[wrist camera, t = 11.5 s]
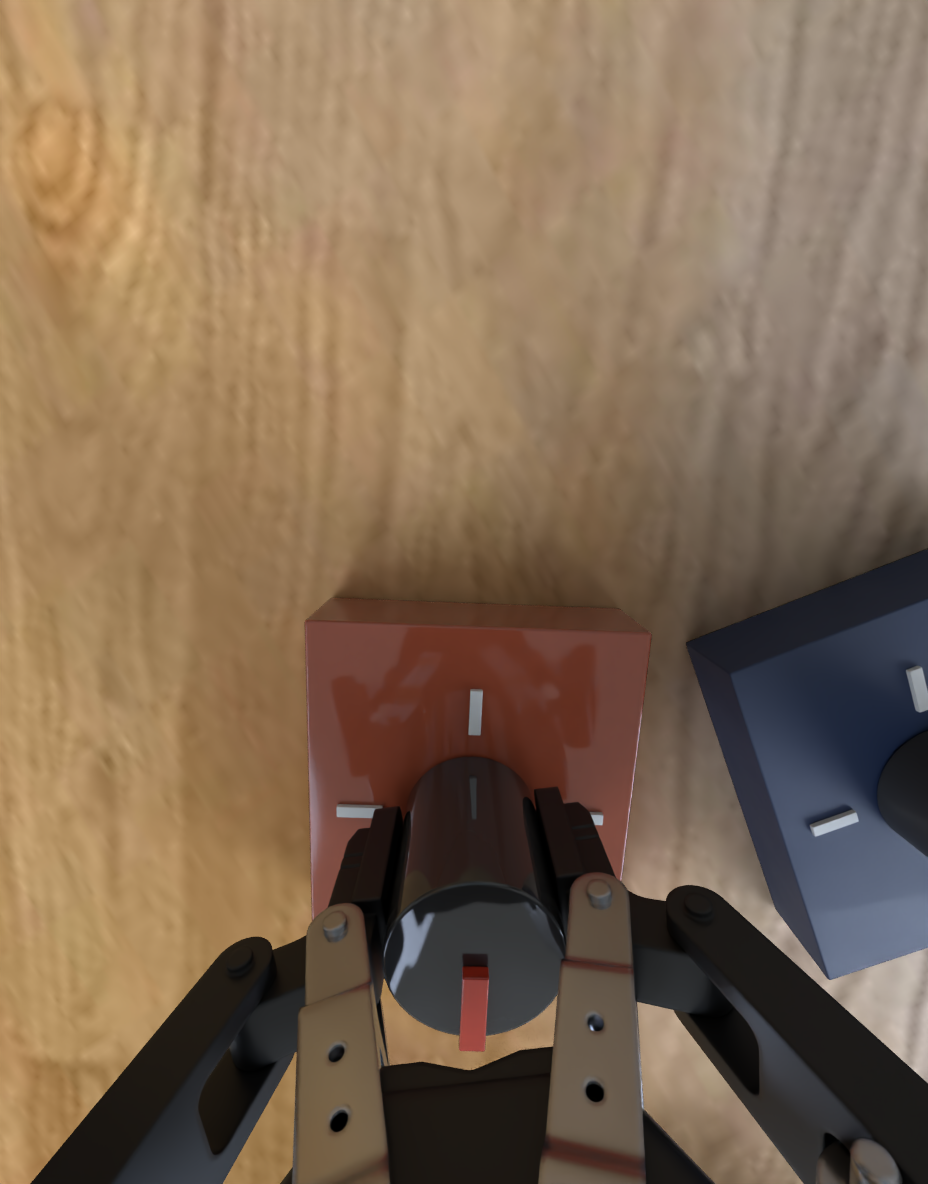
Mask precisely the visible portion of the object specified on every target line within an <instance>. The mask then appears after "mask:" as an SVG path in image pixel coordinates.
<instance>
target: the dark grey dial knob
mask: <svg viewBox="0 0 928 1184" xmlns="http://www.w3.org/2000/svg"><path fill="white" fill-rule="evenodd" d="M565 952H566V935H565V931H564V927H563V922H562V918H561V914H560V910H559V906H558V901H557V897H556V893H555V889H554V884H553V880H552V876H551V872H550V868H549V863H548V859H547V855H546V851H545V846H544V842H543V838H542V834H541V830H540V825H539V821H538V817H537V813H536V808H535V804H534V801H533V797H532V794H531V792H530V790H529V788H528V787H527V785H526V784H525V782H524V781H523V780H522V779H521V777H520V776H519V775H518V774H517V773H515V772H514V771H513V770H512V769H510V768H509V767H507V766H506V765H504V764H502V763H500V762H497V761H495V760H492V759H488V758H483V757H475V756H468V757H459V758H454V759H450V760H447V761H444V762H442V763H440V764H438V765H436V766H434V767H433V768H431V769H430V770H429V771H427V772H426V773H425V774H424V775H423V776H422V777H421V778H420V779H419V780H418V781H417V783H416V784H415V785H414V787H413V789H412V790H411V792H410V795H409V797H408V800H407V804H406V809H405V815H404V821H403V827H402V833H401V840H400V846H399V852H398V858H397V864H396V870H395V876H394V882H393V888H392V894H391V900H390V906H389V913H388V919H387V925H386V931H385V937H384V943H383V950H382V967H383V972H384V976H385V980H386V983H387V985H388V988H389V990H390V992H391V993H392V995H393V997H394V999H395V1000H396V1001H397V1002H398V1004H399V1005H400V1006H401V1007H402V1008H403V1009H404V1010H405V1011H406V1012H407V1013H408V1014H409V1015H411V1016H412V1017H413V1018H415V1019H416V1020H417V1021H419V1022H421V1023H423V1024H424V1025H426V1026H428V1027H431V1028H433V1029H435V1030H438V1031H441V1032H445V1033H448V1034H453V1035H459V1050H460V1051H482V1052H483V1051H485V1041H486V1036H488V1035H495V1034H499V1033H503V1032H507V1031H510V1030H513V1029H515V1028H518V1027H520V1026H522V1025H524V1024H526V1023H528V1022H529V1021H531V1020H532V1019H534V1018H535V1017H537V1016H538V1015H539V1014H540V1013H542V1012H543V1011H544V1010H545V1009H546V1008H547V1007H548V1006H549V1005H550V1004H551V1003H552V1001H553V1000H554V999H555V997H556V996H557V994H558V984H559V972H560V963H561V959H562V958H564V959H565Z"/></svg>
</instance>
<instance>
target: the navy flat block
mask: <svg viewBox="0 0 928 1184" xmlns="http://www.w3.org/2000/svg"><path fill="white" fill-rule="evenodd" d="M686 646H687V649H688V652H689V655H690V658H691V661H692V664H693V667H694V670H695V673H696V675H697V678H698V681H699V684H700V687H701V690H702V693H703V696H704V699H705V702H706V705H707V708H708V711H709V714H710V717H711V720H712V723H713V726H714V729H715V732H716V735H717V737H718V740H719V743H720V746H721V749H722V752H723V755H724V758H725V761H726V764H727V767H728V770H729V773H730V776H731V779H732V782H733V785H734V788H735V791H736V794H737V797H738V799H739V802H740V805H741V808H742V811H743V814H744V817H745V820H746V823H747V826H748V829H749V832H750V835H751V838H752V841H753V844H754V847H755V850H756V853H757V856H758V859H759V861H760V864H761V867H762V870H763V873H764V876H765V879H766V882H767V885H768V888H769V891H770V894H771V897H772V900H773V903H774V906H775V909H776V910H777V912H778V913H779V914H780V916H781V917H782V918H783V920H784V921H785V922H786V924H787V925H788V926H789V928H790V929H791V930H792V932H793V933H794V934H795V936H796V937H797V938H798V940H799V941H800V942H801V944H802V945H803V946H804V948H805V949H806V950H807V952H808V953H809V954H810V956H811V957H812V958H813V960H814V961H815V962H816V964H817V965H818V966H819V968H820V969H821V971H822V972H823V973H824V975H825V976H826V977H827V978H828V979H829V980H832V979H835V978H838V977H841V976H844V975H847V974H850V973H853V972H856V971H859V970H862V969H865V968H868V967H871V966H874V965H877V964H880V963H883V962H886V961H889V960H892V959H895V958H898V957H901V956H904V955H907V954H910V953H913V952H916V951H919V950H922V949H925V948H928V857H926V856H925V855H924V854H923V853H921V852H920V851H919V850H917V849H916V848H915V847H914V846H912V845H911V844H910V843H909V842H907V841H906V840H905V839H904V838H902V837H901V836H900V835H899V834H897V833H896V832H895V831H894V830H893V829H891V828H890V827H889V825H888V824H887V823H886V822H885V820H884V818H883V817H882V815H881V812H880V810H879V806H878V801H877V788H878V783H879V779H880V776H881V773H882V771H883V769H884V767H885V765H886V764H887V762H888V761H889V759H890V758H891V757H892V755H893V754H894V753H895V752H896V751H897V750H898V749H899V748H900V747H901V746H902V745H903V744H905V743H906V742H907V741H909V740H910V739H912V738H914V737H915V736H917V735H919V734H921V733H923V732H925V731H928V549H926V550H923V551H921V552H918V553H916V554H913V555H910V556H908V557H905V558H903V559H900V560H898V561H895V562H892V563H890V564H887V565H885V566H882V567H880V568H877V569H874V570H872V571H869V572H867V573H864V574H862V575H859V576H856V577H854V578H851V579H849V580H846V581H844V582H841V583H838V584H836V585H833V586H831V587H828V588H826V589H823V590H820V591H818V592H815V593H813V594H810V595H808V596H805V597H802V598H800V599H797V600H795V601H792V602H789V603H787V604H784V605H782V606H779V607H777V608H774V609H771V610H769V611H766V612H764V613H761V614H759V615H756V616H753V617H751V618H748V619H746V620H743V621H741V622H738V623H735V624H733V625H730V626H728V627H725V628H723V629H720V630H717V631H715V632H712V633H710V634H707V635H705V636H702V637H699V638H697V639H694V640H692V641H689V642H687V643H686Z"/></svg>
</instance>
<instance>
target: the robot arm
mask: <svg viewBox="0 0 928 1184" xmlns="http://www.w3.org/2000/svg"><path fill="white" fill-rule="evenodd" d="M534 797H535V806H536V813H537V817H538V821H539V825H540V830H541V834H542V838H543V842H544V846H545V851H546V855H547V859H548V863H549V868H550V872H551V876H552V880H553V884H554V889H555V893H556V897H557V901H558V906H559V910H560V914H561V918H562V922H563V927H564V931H565V935H566V952H565V959H564V958H562V959H561V963H560V972H559V984H558V996H557V1008H556V1020H555V1032H554V1044H553V1047H545V1048H536V1049H528V1050H520V1051H517V1052H515V1053H512V1054H510V1055H508V1056H505V1057H503V1058H501V1059H498V1060H496V1061H494V1062H491V1063H489V1064H487V1065H484V1066H482V1067H480V1068H477V1069H474V1070H463V1069H458V1068H453V1067H447V1066H442V1065H437V1064H431V1063H426V1062H416V1063H408V1064H399V1065H391V1066H390V1060H389V1052H388V1045H387V1037H386V1030H385V1022H384V1014H383V1007H382V1002H381V992H382V985H383V979H385V976H384V972H383V967H382V950H383V943H384V937H385V931H386V925H387V919H388V913H389V906H390V900H391V894H392V888H393V882H394V876H395V870H396V864H397V858H398V852H399V846H400V840H401V833H402V827H403V818H402V812H401V808H400V806H395V807H387V808H379V809H375V810H374V814H373V817H372V821H371V825H370V828H362V829H358V830H357V831H356V832H355V834H354V835H353V836H352V837H351V839H350V840H349V841H348V843H347V846H346V849H345V853H344V858H343V859H342V862H341V866H340V870H339V872H338V875H337V879H336V882H335V885H334V888H333V892H332V895H331V898H330V901H329V904H328V908H327V909H325V910H323V911H322V912H321V913H319V914H318V915H317V916H316V917H315V918H314V919H313V921H312V922H311V923H310V925H309V927H308V930H307V935H306V936H304V937H302V938H301V939H299V940H296V941H294V942H292V943H289V944H287V945H284V946H282V947H279V948H277V949H274V950H272V946H271V944H270V942H269V941H268V940H267V939H265V938H262V937H250V938H246V939H243V940H240V941H238V942H236V943H235V944H233V945H231V946H230V947H228V948H227V949H226V950H225V951H224V952H222V953H221V954H220V956H219V957H218V958H217V959H216V960H215V961H214V962H213V964H212V965H211V966H210V967H209V969H208V970H207V971H206V972H205V973H204V975H203V976H202V977H201V978H200V979H199V981H198V982H197V983H196V984H195V985H194V987H193V988H192V989H191V990H190V991H189V993H188V994H187V995H186V996H185V998H184V999H183V1000H182V1001H181V1002H180V1004H179V1005H178V1006H177V1007H176V1008H175V1010H174V1011H173V1012H172V1013H171V1014H170V1016H169V1017H168V1018H167V1019H166V1020H165V1022H164V1023H163V1024H162V1025H161V1027H160V1028H159V1029H158V1030H157V1031H156V1033H155V1034H154V1035H153V1036H152V1037H151V1039H150V1040H149V1041H148V1042H147V1043H146V1045H145V1046H144V1047H143V1048H142V1049H141V1051H140V1052H139V1053H138V1054H137V1056H136V1057H135V1058H134V1059H133V1060H132V1062H131V1063H130V1064H129V1065H128V1066H127V1068H126V1069H125V1070H124V1071H123V1072H122V1074H121V1075H120V1076H119V1077H118V1078H117V1080H116V1081H115V1082H114V1083H113V1085H112V1086H111V1087H110V1088H109V1089H108V1091H107V1092H106V1093H105V1094H104V1095H103V1097H102V1098H101V1099H100V1100H99V1101H98V1103H97V1104H96V1105H95V1106H94V1107H93V1109H92V1110H91V1111H90V1112H89V1114H88V1115H87V1116H86V1117H85V1118H84V1120H83V1121H82V1122H81V1123H80V1124H79V1126H78V1127H77V1128H76V1129H75V1130H74V1132H73V1133H72V1134H71V1135H70V1137H69V1138H68V1139H67V1140H66V1141H65V1143H64V1144H63V1145H62V1146H61V1147H60V1149H59V1150H58V1151H57V1152H56V1153H55V1155H54V1156H53V1157H52V1158H51V1159H50V1161H49V1162H48V1163H47V1164H46V1166H45V1167H44V1168H43V1169H42V1170H41V1172H40V1173H39V1174H38V1175H37V1176H36V1178H35V1179H34V1180H33V1181H32V1182H31V1184H223V1182H224V1180H225V1178H226V1176H227V1175H228V1173H229V1171H230V1169H231V1168H232V1166H233V1164H234V1162H235V1160H236V1159H237V1157H238V1155H239V1153H240V1152H241V1150H242V1148H243V1146H244V1144H245V1143H246V1141H247V1139H248V1137H249V1136H250V1134H251V1132H252V1130H253V1128H254V1127H255V1125H256V1123H257V1121H258V1120H259V1118H260V1116H261V1114H262V1112H263V1111H264V1109H265V1107H266V1105H267V1103H268V1102H269V1100H270V1098H271V1096H272V1095H273V1093H274V1091H275V1089H276V1087H277V1086H278V1084H279V1082H280V1080H281V1079H282V1077H283V1075H284V1073H285V1071H286V1070H287V1068H288V1066H289V1064H290V1062H291V1060H292V1058H293V1056H294V1053H295V1052H297V1061H296V1089H295V1117H294V1145H293V1167H292V1169H291V1170H290V1171H289V1173H288V1174H287V1175H286V1177H285V1178H284V1179H283V1181H282V1182H281V1183H280V1184H715V1183H714V1182H713V1181H712V1180H711V1179H710V1178H709V1177H708V1176H707V1175H706V1174H705V1173H704V1172H703V1171H702V1170H701V1168H700V1167H699V1166H698V1165H697V1164H696V1163H695V1162H694V1161H693V1160H692V1159H691V1158H690V1157H689V1156H688V1155H687V1154H686V1153H685V1152H684V1151H683V1150H682V1149H681V1148H680V1147H679V1146H678V1145H677V1143H676V1142H675V1141H674V1140H673V1139H672V1138H671V1137H670V1136H669V1135H668V1134H667V1133H666V1132H665V1131H664V1130H663V1129H662V1128H661V1127H660V1126H659V1125H658V1124H657V1123H656V1122H655V1121H654V1120H653V1118H652V1117H651V1116H650V1115H649V1114H648V1113H647V1112H646V1111H645V1110H644V1099H643V1085H642V1071H641V1056H640V1040H639V1025H638V1010H637V1002H641V1003H645V1004H650V1005H654V1006H659V1007H664V1008H668V1009H673V1010H674V1011H675V1014H676V1015H677V1017H678V1018H679V1020H680V1021H681V1022H682V1024H683V1025H684V1026H685V1028H686V1029H687V1030H688V1032H689V1033H690V1034H691V1036H692V1037H693V1038H694V1040H695V1041H696V1042H697V1044H698V1045H699V1046H700V1047H701V1049H702V1050H703V1051H704V1053H705V1054H706V1055H707V1057H708V1058H709V1059H710V1061H711V1062H712V1063H713V1065H714V1066H715V1067H716V1069H717V1070H718V1071H719V1073H720V1074H721V1075H722V1076H723V1078H724V1079H725V1080H726V1082H727V1083H728V1084H729V1086H730V1087H731V1088H732V1090H733V1091H734V1092H735V1094H736V1095H737V1096H738V1098H739V1099H740V1100H741V1102H742V1103H743V1104H744V1105H745V1107H746V1108H747V1109H748V1111H749V1112H750V1113H751V1115H752V1116H753V1117H754V1119H755V1120H756V1121H757V1123H758V1124H759V1125H760V1127H761V1128H762V1129H763V1131H764V1132H765V1133H766V1134H767V1136H768V1137H769V1138H770V1140H771V1141H772V1142H773V1144H774V1145H775V1146H776V1148H777V1149H778V1150H779V1152H780V1153H781V1154H782V1156H783V1157H784V1158H785V1160H786V1161H787V1162H788V1163H789V1165H790V1166H791V1167H792V1169H793V1170H794V1171H795V1173H796V1174H797V1175H798V1177H799V1178H800V1179H801V1181H802V1182H803V1183H804V1184H928V1083H927V1082H926V1081H924V1080H923V1079H922V1078H921V1077H920V1076H919V1075H918V1074H917V1073H916V1072H914V1071H913V1070H912V1069H911V1068H910V1067H909V1066H908V1065H907V1064H906V1063H905V1062H903V1061H902V1060H901V1059H900V1058H899V1057H898V1056H897V1055H896V1054H895V1053H893V1052H892V1051H891V1050H890V1049H889V1048H888V1047H887V1046H886V1045H885V1044H884V1043H882V1042H881V1041H880V1040H879V1039H878V1038H877V1037H876V1036H875V1035H874V1034H872V1033H871V1032H870V1031H869V1030H868V1029H867V1028H866V1027H865V1026H864V1025H863V1024H861V1023H860V1022H859V1021H858V1020H857V1019H856V1018H855V1017H854V1016H853V1015H851V1014H850V1013H849V1012H848V1011H847V1010H846V1009H845V1008H844V1007H843V1006H841V1005H840V1004H839V1003H838V1002H837V1001H836V1000H835V999H834V998H833V997H832V996H830V995H829V994H828V993H827V992H826V991H825V990H824V989H823V988H822V987H820V986H819V985H818V984H817V983H816V982H815V981H814V980H813V979H812V978H811V977H809V976H808V975H807V974H806V973H805V972H804V971H803V970H802V969H801V968H799V967H798V966H797V965H796V964H795V963H794V962H793V961H792V960H791V959H790V958H788V957H787V956H786V955H785V954H784V953H783V952H782V951H781V950H780V949H778V948H777V947H776V946H775V945H774V944H773V943H772V942H771V941H770V940H769V939H767V938H766V937H765V936H764V935H763V934H762V933H761V932H760V931H759V930H757V929H756V928H755V927H754V926H753V925H752V924H751V923H750V922H749V921H747V920H746V919H745V918H744V917H743V916H742V915H741V914H740V913H739V912H738V911H736V910H735V909H734V908H733V907H732V906H731V905H730V904H729V903H728V902H726V901H725V900H724V899H723V898H722V897H721V896H719V895H718V894H717V893H715V892H713V891H711V890H709V889H707V888H704V887H700V886H694V885H685V886H680V887H677V888H675V889H673V890H672V891H671V892H670V893H669V894H668V896H667V898H666V901H661V900H654V899H648V898H644V897H641V896H638V895H635V894H633V893H631V892H630V891H628V890H627V888H626V887H625V885H624V884H623V883H622V882H621V881H620V880H619V879H617V878H616V876H615V874H614V871H613V869H612V866H611V864H610V861H609V859H608V856H607V854H606V851H605V849H604V846H603V844H602V841H601V839H600V838H599V834H598V831H597V829H596V827H595V824H594V821H593V819H592V816H591V814H590V812H589V811H588V810H587V809H586V808H585V807H584V806H583V805H581V804H580V803H579V802H572V803H563V800H562V797H561V794H560V791H559V788H558V786H556V787H548V788H540V789H534ZM225 1052H226V1053H225ZM210 1074H211V1075H210Z"/></svg>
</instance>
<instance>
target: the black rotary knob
mask: <svg viewBox="0 0 928 1184" xmlns="http://www.w3.org/2000/svg"><path fill="white" fill-rule="evenodd" d="M877 801H878V806H879V810H880V812H881V815H882V817H883V818H884V820H885V822H886V823H887V824H888V825H889V827H890V828H891V829H893V830H894V831H895V832H896V833H897V834H899V835H900V836H901V837H902V838H904V839H905V840H906V841H907V842H909V843H910V844H911V845H912V846H914V847H915V848H916V849H917V850H919V851H920V852H921V853H923V854H924V855H925V856H926V857H928V731H925V732H923V733H921V734H919V735H917V736H915V737H914V738H912V739H910V740H909V741H907V742H906V743H905V744H903V745H902V746H901V747H900V748H899V749H898V750H897V751H896V752H895V753H894V754H893V755H892V757H891V758H890V759H889V761H888V762H887V764H886V765H885V767H884V769H883V771H882V773H881V776H880V779H879V783H878V788H877Z"/></svg>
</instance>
